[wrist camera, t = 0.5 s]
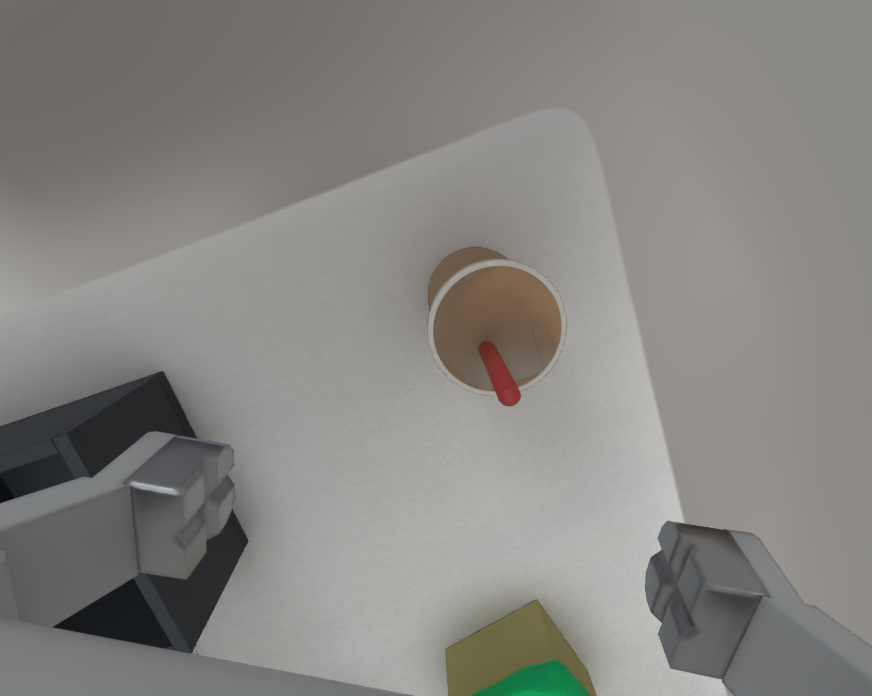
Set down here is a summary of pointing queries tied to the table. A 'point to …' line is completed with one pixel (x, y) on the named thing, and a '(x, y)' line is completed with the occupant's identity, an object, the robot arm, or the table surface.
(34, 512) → the robot arm
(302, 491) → the table surface
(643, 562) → the table surface
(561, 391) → the table surface
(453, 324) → the paper cup
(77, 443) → the bin
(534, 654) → the cake
